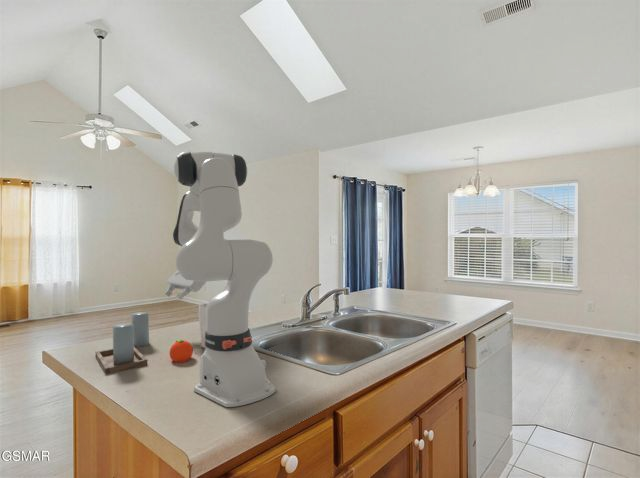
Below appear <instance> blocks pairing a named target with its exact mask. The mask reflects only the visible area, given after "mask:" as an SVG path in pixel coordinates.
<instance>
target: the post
mask: <svg viewBox="0 0 640 478" xmlns="http://www.w3.org/2000/svg"><path fill="white" fill-rule="evenodd" d="M149 316H150V315H149V312H146V311H140V312H134V313H131V324H133V332H134V347H135V348H138V347H145V346H148V345H149V344H150V327H149V326H150V322H149V321H150V319H149V318H150V317H149Z"/></svg>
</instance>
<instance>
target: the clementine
mask: <svg viewBox="0 0 640 478" xmlns="http://www.w3.org/2000/svg"><path fill="white" fill-rule="evenodd" d="M193 353H194V349H193V345H192V344H191V343H190V342H189V341H187V340H185V339H178V340H175V342H174V343H173V344H172V345H171V346H170V348H169V357H170V359H171V360H172V361H173V362H174V363H184V362H188V361H189V360H190V359H191V358H192V357H193Z"/></svg>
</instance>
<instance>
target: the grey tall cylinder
mask: <svg viewBox="0 0 640 478" xmlns="http://www.w3.org/2000/svg"><path fill="white" fill-rule="evenodd" d="M112 349H113V365H114V366H116V365H120V364H125V363H130V362H134V332H133V324H132V322H131V323H129V322H127V323H119V324H115V325H113V326H112Z"/></svg>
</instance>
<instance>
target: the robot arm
mask: <svg viewBox="0 0 640 478" xmlns="http://www.w3.org/2000/svg"><path fill="white" fill-rule="evenodd" d="M173 169H174V174H175V177H176V180H177V182H179V184H181V185H183V186H187V187H189V191H186V193H184V195H183V196H182V199H181V200H180V204H179V209H178V215H177V219H176V220H177V221H176V224H175V227H174V230H173V232H172V239H173V241H174V243H175V244H176V245H177V246H181V247H180V248H179V250H178V252H177V254H176V258H175V260H176V261H175V266H176V269H177V270H176V271H175V272H174V273H173V274H172V275H170V277H169V278H168V279H167V280H166V284H167V285H168V287H167V290H166V292H164V296H166V297H168V298H171V295H172V294H173V291H175V290H176V289H179V290H182V291H181V292H179V293H178V294H177V295H176V298H177V299H178V300H183V299H184V297H186V296H187V295H189V294H190V292H193V293H197V292H198V291H200V290H202V288H203V286H204V285H205V284H206V283H207V282H218V281H219V282H220V281H227V283H226V286H225V287H224V289H223V290H222V291H221V292H219V293H217V294H216V295H214V296H213V297H211V299H210V300H209V301H208V302H207V303H206V304H207V307H206V312H207V331H206V332H205V346H206V348H204V351H203V353H202V354H201V356H200V359H199V373H198V376H199V377H198V383H196V384H195V385H194V387H193V391H194V392H195V393H197V394H199V395H202V396H203V397H205V398H207V399H209V400H211V401H213V402H215V403H217V404H219V405H221V406H223V407H225V408H234V407H235V408H236V407H241V406H244V405H249V404H253V403H256V402H258V401H261V400H264V399H266V398H268V397H270V396H272V395H273V394H274V393H275V392H276V391H277V389H276V386H275V385H274V384H273V383H272V382H271V381H270V379H268V378H267V376H266V375H267V374H266V368H267V362H266V360H265V359H261V358H260V357H259V353H258V352H256V350H255V348H254V346H253V339H252V338H253V336H252V333H251V330H250V328H249V309H250V300H251V297H252V294H253V293H254V292H253V291H254V289H255V288H256V286H257V285H258V283H259V282H260V281H261V279H262V278H263V277H264V276H266V274H267V273H269V271H270V270H271V268H272V264H273V260H274V259H273V252H272V249H271V248H270V246H269V245H268V244H267V242H264V241H260V240H259V241H258V240H253V239H225V238H224V233H225V232H227V231H230V230H231V229H233V228H235V227H236V226H237V225H238V224H239V223H240V221H241V220H242V217H243V215H242V214H243V212H242V205H241V199H240V192H239V191H240V190H239V187H242V186H243V185H244V184H245V183H246V181H247V176H248V166H247V162H246V159H244V157H243V156H242V155H237V154H234V153H231V154H229V153H222V152H213V151H195V152H191V151H184V152H180V153H179V154H177V156H176V159H175V161H174V166H173ZM194 212H199V213H200V218H199V219H200V220H199V225H198V226H197V225H196V224H195V223H194V222H193V219H194V218H193V217H194Z"/></svg>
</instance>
